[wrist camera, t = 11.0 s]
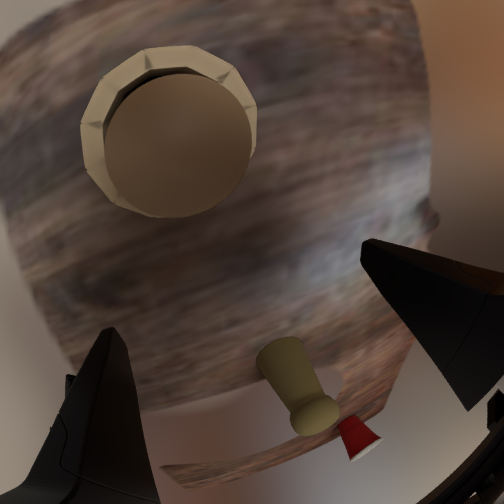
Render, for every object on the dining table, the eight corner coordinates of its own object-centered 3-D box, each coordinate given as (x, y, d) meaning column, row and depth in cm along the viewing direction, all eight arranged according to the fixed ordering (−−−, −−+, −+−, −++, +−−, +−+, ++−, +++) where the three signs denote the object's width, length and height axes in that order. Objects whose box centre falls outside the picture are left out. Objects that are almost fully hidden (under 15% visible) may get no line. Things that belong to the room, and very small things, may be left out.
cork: (250, 372, 31) (286, 448, 23) (263, 339, 29) (309, 423, 20) (292, 365, 34) (332, 432, 25) (309, 333, 31) (358, 405, 22)
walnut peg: (182, 176, 18) (210, 235, 10) (115, 149, 15) (83, 190, 8) (218, 110, 16) (277, 117, 9) (150, 78, 13) (148, 50, 6)
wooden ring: (197, 215, 19) (207, 237, 16) (74, 169, 14) (59, 184, 12) (262, 98, 16) (285, 98, 14) (138, 37, 12) (136, 21, 9)
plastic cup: (366, 410, 65) (387, 439, 55) (337, 431, 66) (355, 460, 56) (358, 406, 58) (381, 440, 49) (324, 430, 59) (345, 464, 50)
